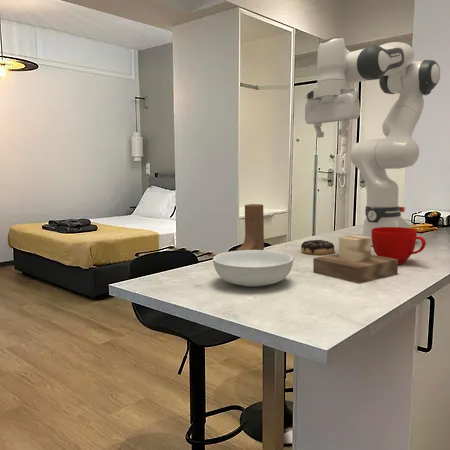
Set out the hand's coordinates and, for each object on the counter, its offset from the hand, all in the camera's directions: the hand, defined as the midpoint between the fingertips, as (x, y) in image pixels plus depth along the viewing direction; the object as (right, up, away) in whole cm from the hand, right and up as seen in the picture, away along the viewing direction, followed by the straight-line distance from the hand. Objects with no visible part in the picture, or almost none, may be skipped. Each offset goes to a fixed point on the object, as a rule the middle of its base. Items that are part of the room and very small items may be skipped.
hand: (331, 136), depth 143 cm
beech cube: (+2, -38, -19) cm, 42 cm away
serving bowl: (-26, -44, -25) cm, 57 cm away
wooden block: (-26, -40, +2) cm, 48 cm away
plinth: (+2, -42, -18) cm, 45 cm away
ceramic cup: (+19, -40, -7) cm, 45 cm away
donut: (-1, -38, +13) cm, 40 cm away
